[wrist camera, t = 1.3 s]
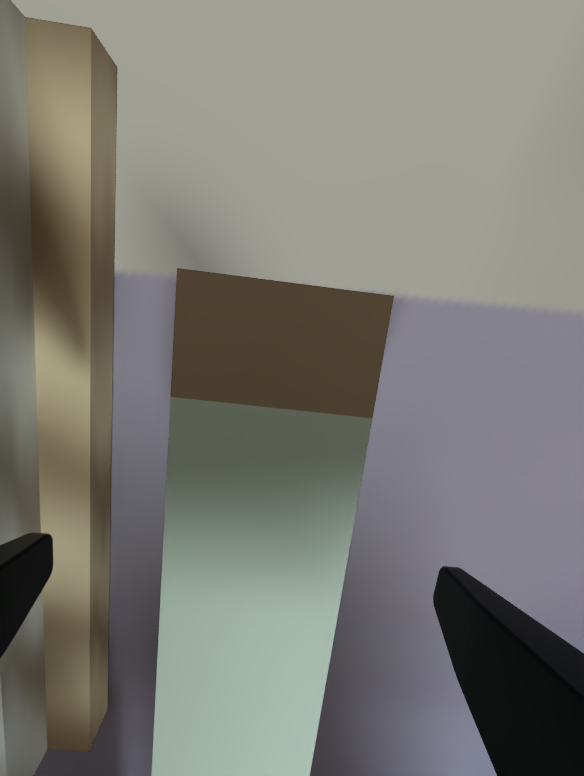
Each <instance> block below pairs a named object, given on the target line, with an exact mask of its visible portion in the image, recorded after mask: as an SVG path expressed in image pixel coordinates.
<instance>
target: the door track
mask: <svg viewBox="0 0 584 776" xmlns="http://www.w3.org/2000/svg"><path fill="white" fill-rule="evenodd" d="M116 118H117V66H116V65H115V63H114V62H113V60H112V59H111V57H110V56H109V54H108V53H107V51H106V50H105V48H104V47H103V45H102V44H101V42H100V41H99V39H98V38H97V36H96V35H95V33H94V32H93V30H92V29H91V28H87V27H81V26H75V25H69V24H63V23H57V22H51V21H45V20H38V19H33V18H26V17H24V15H23V14H22V13H21V12H20V11H19V10H18V8H16V6H15V5H14V4H13V3H12V2H11V0H0V545H2V544H4V543H6V542H9V541H11V540H14V539H16V538H18V537H21V536H23V535H25V534H28V533H31V532H37V533H48V534H50V535H51V536H52V538H53V570H52V573H51V576H50V578H49V580H48V581H47V583H46V585H45V586H44V588H43V590H42V592H41V593H40V595H39V597H38V598H37V600H36V602H35V603H34V605H33V607H32V608H31V610H30V612H29V613H28V615H27V617H26V619H25V620H24V622H23V624H22V625H21V627H20V629H19V630H18V632H17V634H16V635H15V637H14V639H13V640H12V642H11V643H10V645H9V647H8V648H7V650H6V651H5V653H4V654H3V656H2V657H1V659H0V776H34V774H35V772H36V770H37V768H38V766H39V764H40V762H41V761H42V759H43V757H44V755H45V753H46V751H47V749H51V750H72V751H90V749H91V747H92V745H93V742H94V740H95V738H96V735H97V733H98V731H99V728H100V726H101V724H102V721H103V719H104V717H105V714H106V712H107V709H108V644H109V578H110V513H111V448H112V382H113V317H114V249H115V248H114V247H115V186H116V183H115V182H116Z"/></svg>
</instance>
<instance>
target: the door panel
mask: <svg viewBox="0 0 584 776" xmlns="http://www.w3.org/2000/svg"><path fill="white" fill-rule="evenodd" d="M393 297H394V296H389V295H382V294H374V293H366V292H358V291H350V290H343V289H335V288H327V287H319V286H312V285H304V284H296V283H288V282H280V281H273V280H265V279H257V278H249V277H241V276H234V275H226V274H218V273H210V272H202V271H195V270H187V269H177V282H176V302H175V322H174V341H173V361H172V381H171V401H170V420H169V440H168V460H167V480H166V499H165V519H164V539H163V559H162V578H161V598H160V618H159V638H158V658H157V677H156V697H155V717H154V737H153V756H152V776H310V771H311V765H312V760H313V754H314V748H315V742H316V737H317V731H318V725H319V720H320V714H321V708H322V703H323V697H324V691H325V685H326V680H327V674H328V668H329V663H330V657H331V651H332V645H333V640H334V634H335V628H336V623H337V617H338V611H339V606H340V600H341V594H342V588H343V583H344V577H345V571H346V566H347V560H348V554H349V548H350V543H351V537H352V531H353V526H354V520H355V514H356V509H357V503H358V497H359V491H360V486H361V480H362V474H363V469H364V463H365V457H366V451H367V446H368V440H369V434H370V429H371V423H372V417H373V412H374V406H375V400H376V394H377V389H378V383H379V377H380V372H381V366H382V360H383V354H384V349H385V343H386V337H387V332H388V326H389V320H390V315H391V309H392V303H393Z"/></svg>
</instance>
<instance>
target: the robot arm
mask: <svg viewBox="0 0 584 776" xmlns="http://www.w3.org/2000/svg"><path fill="white" fill-rule="evenodd" d="M52 570H53V538H52V536H51V535H50V534H48V533H37V532H31V533H28V534H25V535H23V536H21V537H18V538H16V539H14V540H11V541H9V542H6V543H4V544H2V545H0V659H1V657H2V656H3V654H4V653H5V651H6V650H7V648H8V647H9V645H10V643H11V642H12V640H13V639H14V637H15V635H16V634H17V632H18V630H19V629H20V627H21V625H22V624H23V622H24V620H25V619H26V617H27V615H28V613H29V612H30V610H31V608H32V607H33V605H34V603H35V602H36V600H37V598H38V597H39V595H40V593H41V592H42V590H43V588H44V586H45V585H46V583H47V581H48V580H49V578H50V576H51V573H52ZM433 602H434V607H435V611H436V614H437V617H438V620H439V623H440V626H441V630H442V633H443V636H444V639H445V642H446V645H447V649H448V652H449V655H450V658H451V661H452V665H453V668H454V670H455V673H456V676H457V679H458V682H459V684H460V687H461V689H462V692H463V694H464V697H465V699H466V701H467V704H468V706H469V709H470V711H471V714H472V716H473V718H474V721H475V723H476V726H477V728H478V730H479V733H480V735H481V738H482V740H483V743H484V745H485V747H486V750H487V752H488V755H489V757H490V759H491V762H492V764H493V767H494V769H495V772H496V774H497V776H584V653H582V652H581V651H579V650H578V649H576V648H575V647H574V646H572V645H571V644H569V643H568V642H566V641H565V640H563V639H562V638H560V637H559V636H558V635H556V634H555V633H553V632H552V631H550V630H549V629H547V628H546V627H545V626H543V625H542V624H540V623H539V622H537V621H536V620H534V619H533V618H532V617H530V616H529V615H527V614H526V613H524V612H523V611H521V610H520V609H519V608H517V607H516V606H514V605H513V604H511V603H510V602H508V601H507V600H506V599H504V598H503V597H501V596H500V595H498V594H497V593H495V592H494V591H492V590H491V589H490V588H488V587H487V586H485V585H484V584H482V583H481V582H479V581H478V580H477V579H475V578H474V577H472V576H471V575H469V574H468V573H466V572H465V571H464V570H462V569H461V568H458V567H447V566H444V567H442V568H441V569H440V571H439V574H438V578H437V582H436V587H435V591H434V596H433Z"/></svg>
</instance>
